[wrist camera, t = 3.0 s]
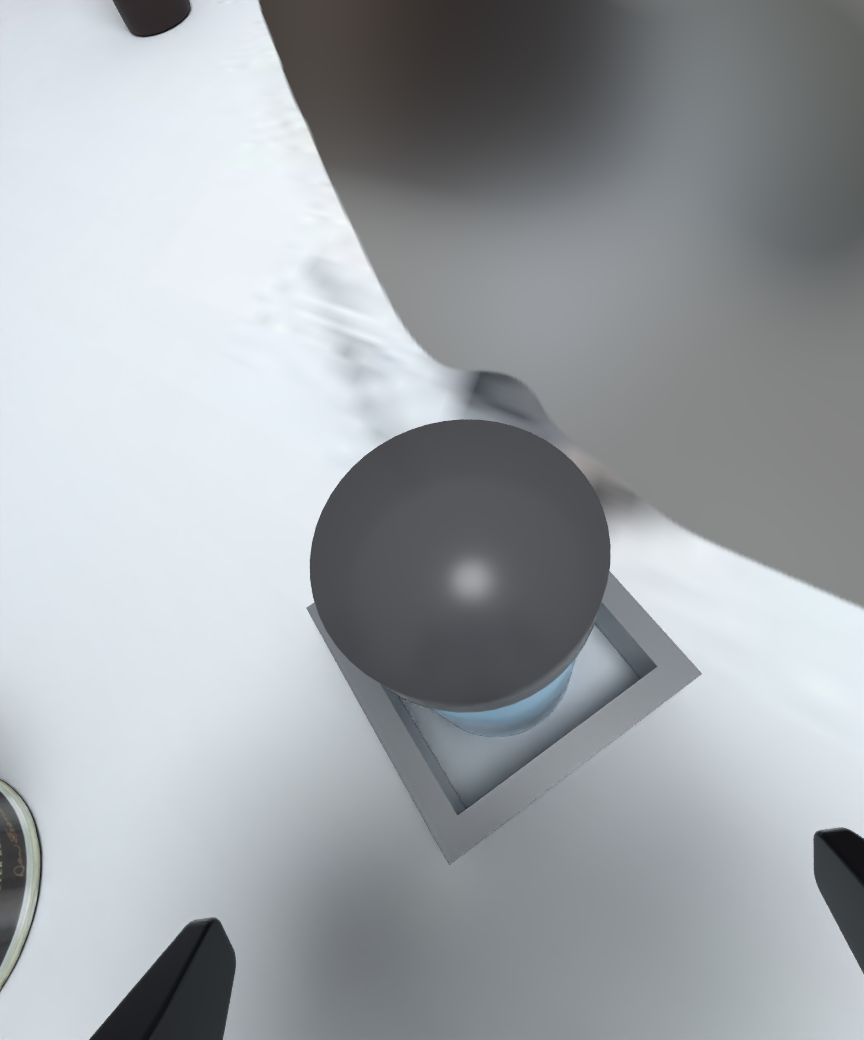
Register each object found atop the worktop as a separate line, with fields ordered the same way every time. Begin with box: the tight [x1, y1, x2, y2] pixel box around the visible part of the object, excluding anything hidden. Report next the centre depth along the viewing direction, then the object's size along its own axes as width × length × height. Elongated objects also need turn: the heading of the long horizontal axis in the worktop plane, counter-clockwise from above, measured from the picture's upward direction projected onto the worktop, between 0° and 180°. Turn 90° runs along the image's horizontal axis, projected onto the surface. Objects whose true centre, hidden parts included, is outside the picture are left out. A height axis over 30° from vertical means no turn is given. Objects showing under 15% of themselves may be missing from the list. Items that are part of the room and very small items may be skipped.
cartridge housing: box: [307, 571, 702, 865], centre depth 22 cm, size 10×10×3 cm
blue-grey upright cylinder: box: [310, 420, 610, 737], centre depth 18 cm, size 7×7×12 cm
